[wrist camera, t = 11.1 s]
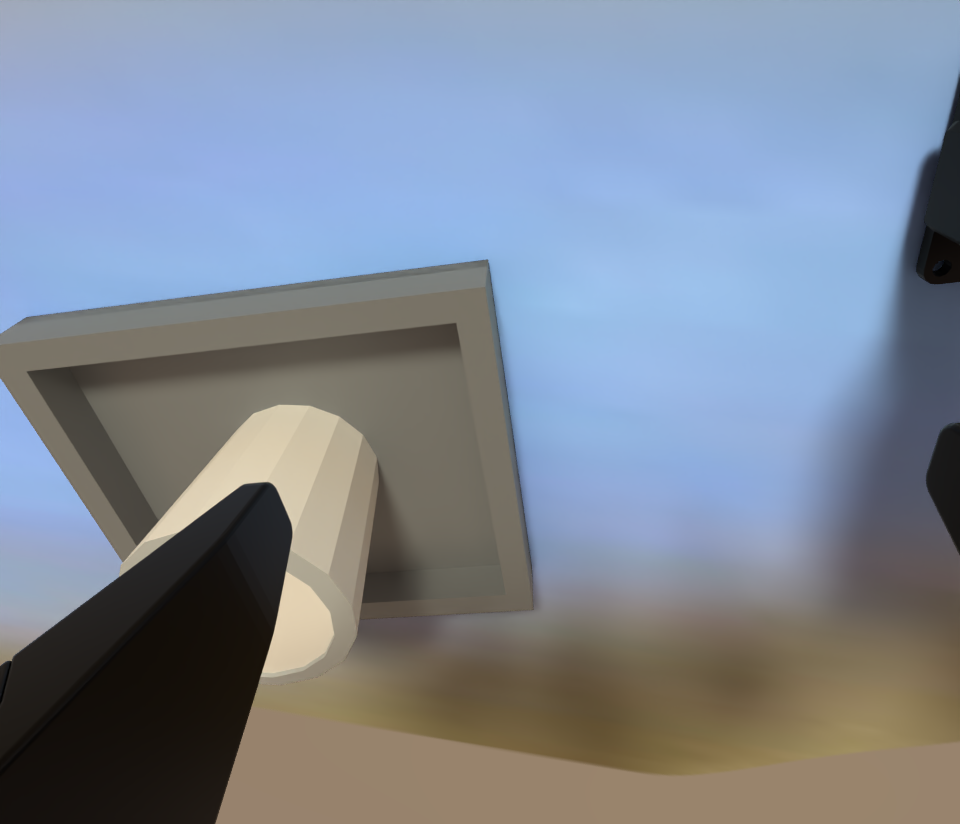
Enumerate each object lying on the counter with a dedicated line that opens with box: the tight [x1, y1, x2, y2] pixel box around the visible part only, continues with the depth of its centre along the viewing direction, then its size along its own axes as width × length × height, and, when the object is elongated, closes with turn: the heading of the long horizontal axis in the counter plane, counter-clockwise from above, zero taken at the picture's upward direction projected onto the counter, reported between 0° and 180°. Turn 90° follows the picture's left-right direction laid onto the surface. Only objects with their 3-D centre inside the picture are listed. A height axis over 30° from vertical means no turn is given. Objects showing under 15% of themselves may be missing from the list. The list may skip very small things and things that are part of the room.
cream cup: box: [119, 405, 379, 685], centre depth 21 cm, size 7×7×7 cm
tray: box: [0, 260, 533, 619], centre depth 23 cm, size 16×14×2 cm
